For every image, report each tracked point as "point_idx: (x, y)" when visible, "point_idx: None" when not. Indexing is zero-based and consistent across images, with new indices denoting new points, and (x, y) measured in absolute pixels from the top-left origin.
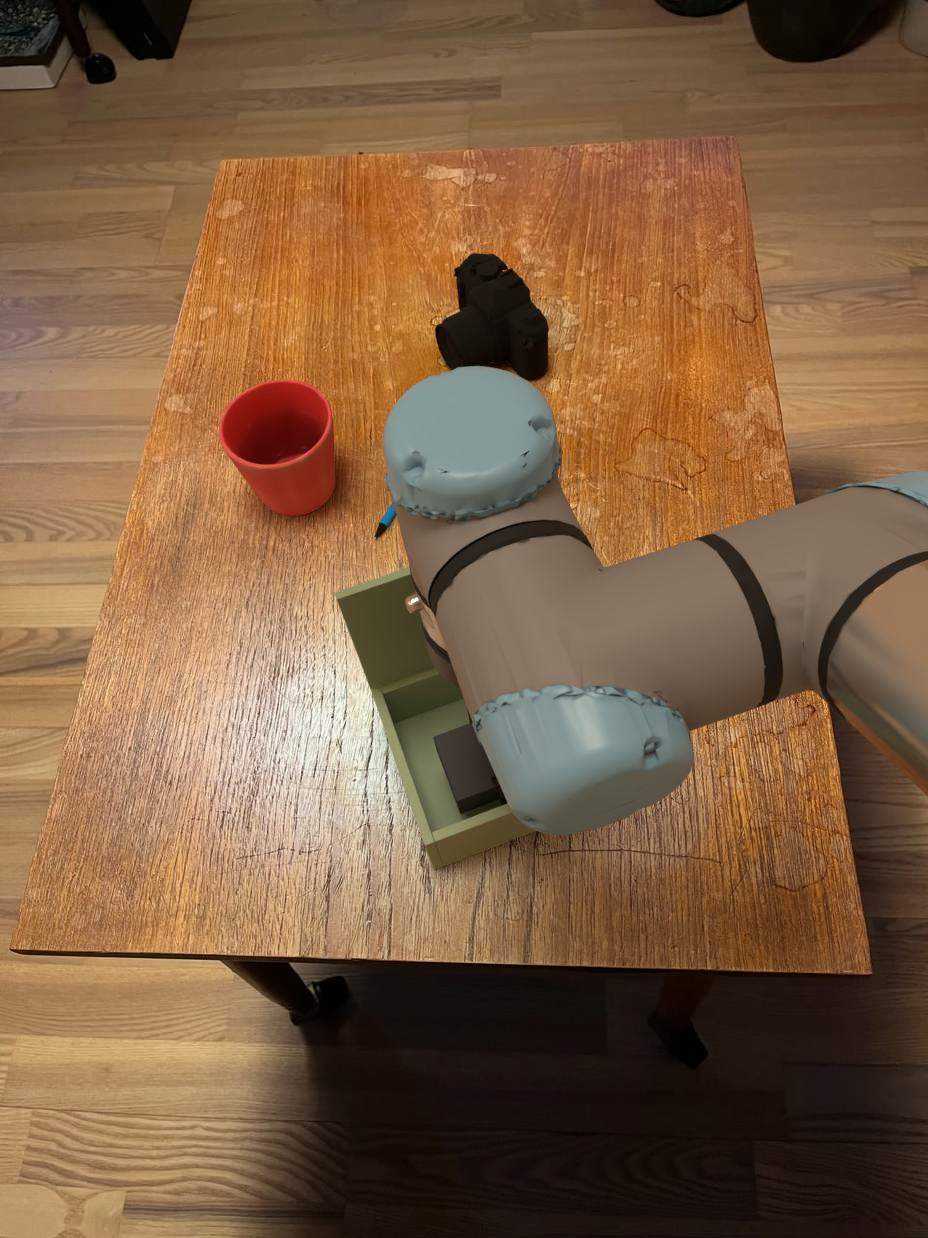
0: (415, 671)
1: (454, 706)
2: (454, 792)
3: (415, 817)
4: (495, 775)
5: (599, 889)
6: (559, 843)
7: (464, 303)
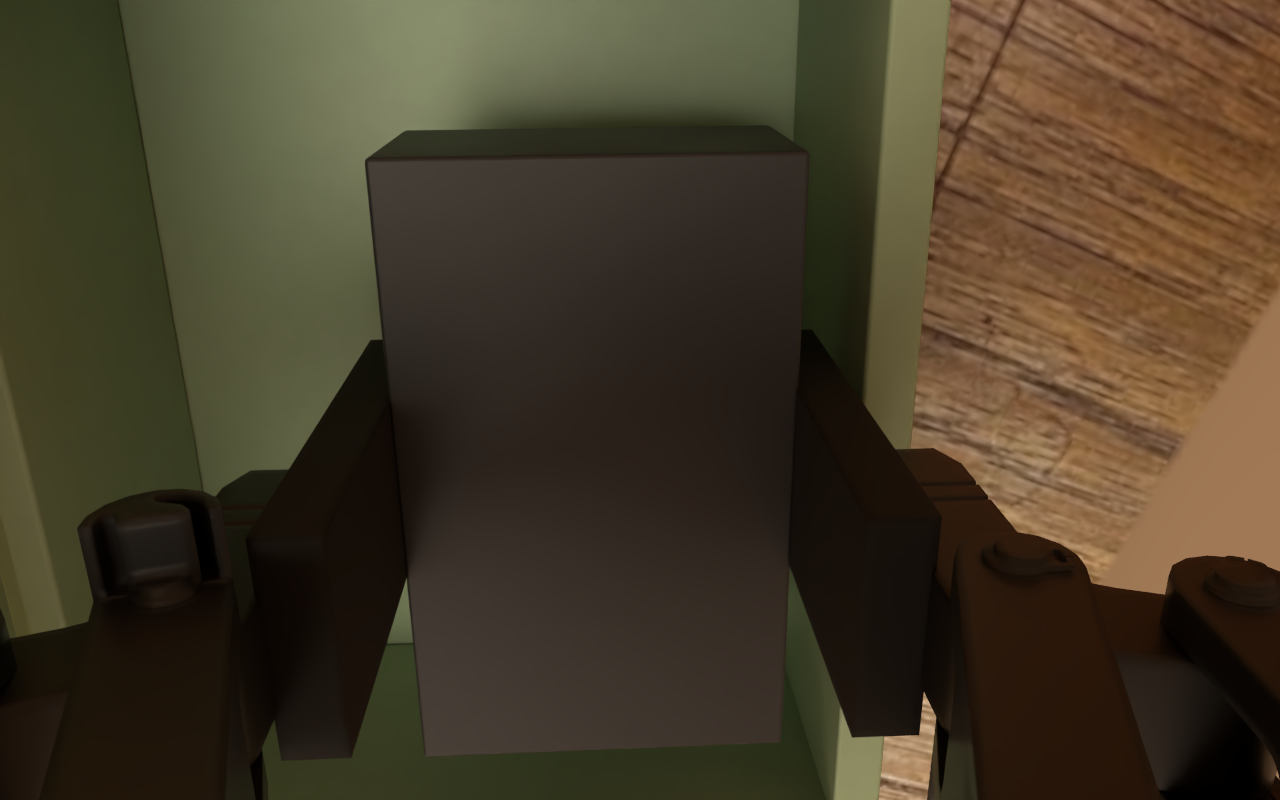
0: None
1: (212, 421)
2: (736, 743)
3: None
4: (933, 784)
5: (1121, 133)
6: None
7: None
